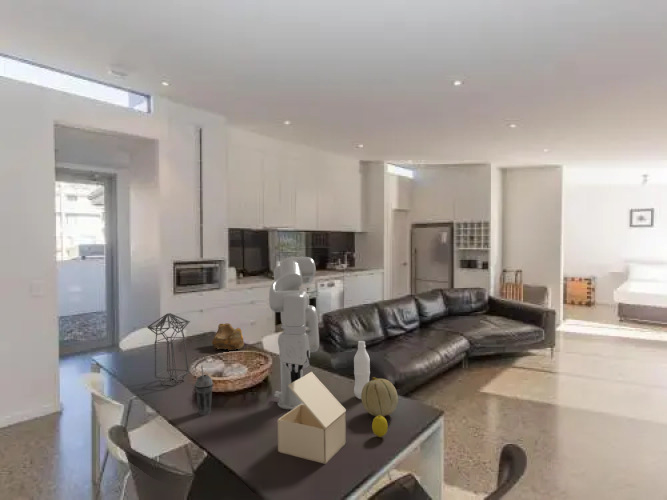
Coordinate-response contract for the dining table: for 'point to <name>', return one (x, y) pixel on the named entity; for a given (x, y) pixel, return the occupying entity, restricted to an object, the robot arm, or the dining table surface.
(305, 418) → the carton
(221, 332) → the rough brown rock
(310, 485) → the dining table surface
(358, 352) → the water bottle
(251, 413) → the dining table surface
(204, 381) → the beverage cup
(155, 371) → the geometric lantern
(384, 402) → the cantaloupe
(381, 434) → the lemon
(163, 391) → the dining table surface
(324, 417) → the carton lid
